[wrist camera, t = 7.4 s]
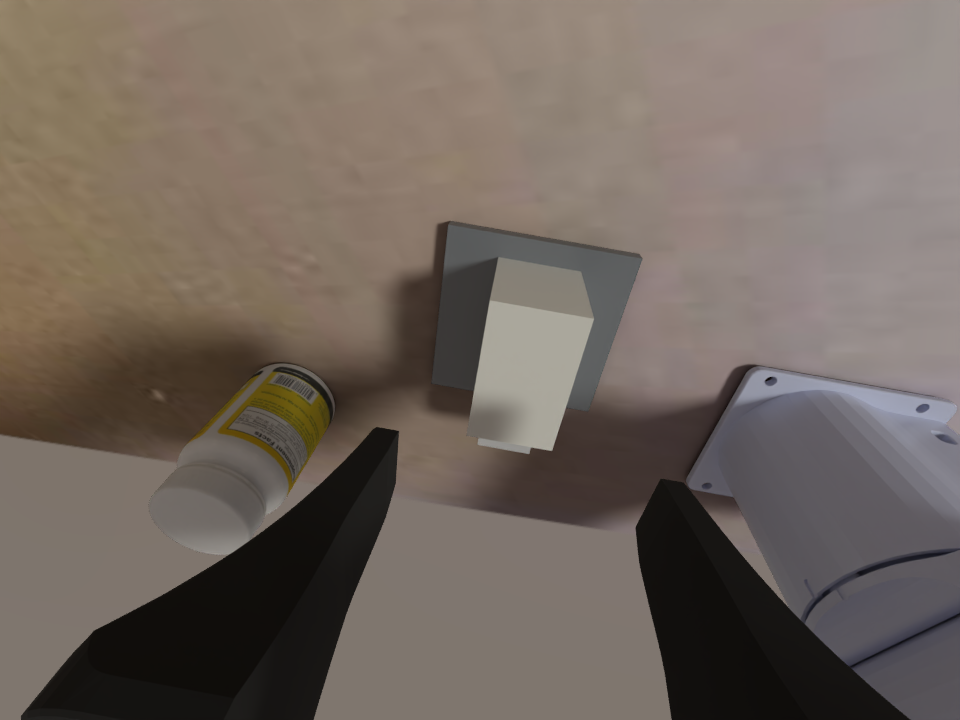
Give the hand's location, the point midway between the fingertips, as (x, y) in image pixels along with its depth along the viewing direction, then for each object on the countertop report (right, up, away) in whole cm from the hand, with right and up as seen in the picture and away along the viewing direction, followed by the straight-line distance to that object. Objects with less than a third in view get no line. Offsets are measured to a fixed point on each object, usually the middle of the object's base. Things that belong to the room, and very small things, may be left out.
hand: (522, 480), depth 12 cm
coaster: (+1, +5, +8) cm, 10 cm away
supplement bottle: (-11, +1, +12) cm, 17 cm away
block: (+1, +5, +8) cm, 9 cm away
